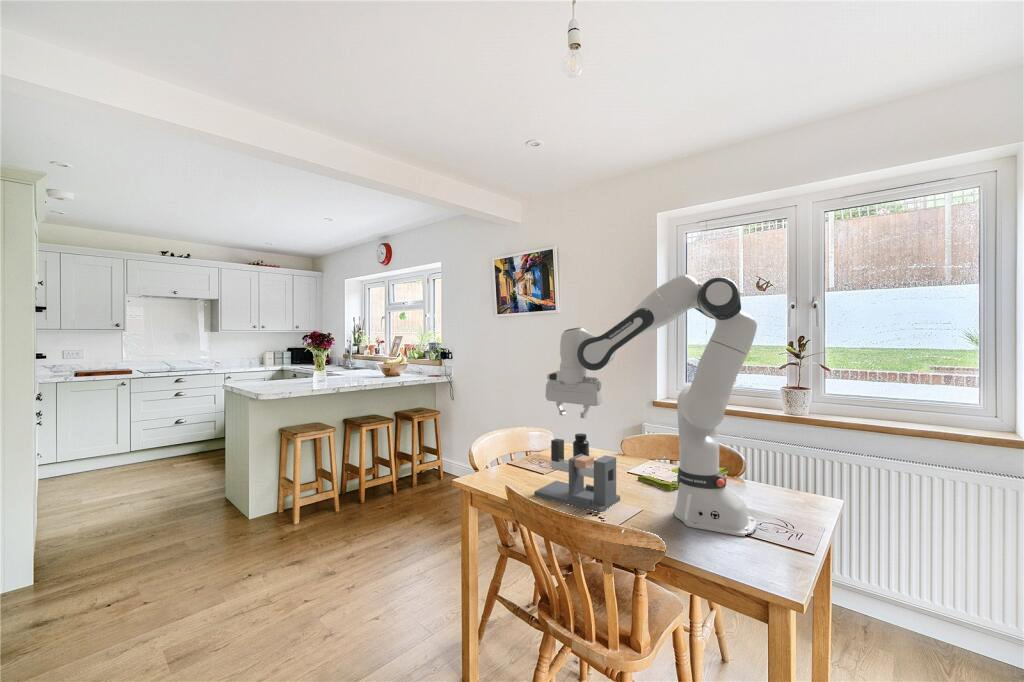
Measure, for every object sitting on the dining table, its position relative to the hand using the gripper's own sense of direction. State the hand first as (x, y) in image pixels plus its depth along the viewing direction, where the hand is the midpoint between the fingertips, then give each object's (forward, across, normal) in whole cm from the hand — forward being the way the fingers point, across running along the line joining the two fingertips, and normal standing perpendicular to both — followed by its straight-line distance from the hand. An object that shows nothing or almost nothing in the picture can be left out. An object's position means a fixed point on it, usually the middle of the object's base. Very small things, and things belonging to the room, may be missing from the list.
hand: (572, 416), depth 152 cm
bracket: (+27, -2, 0) cm, 27 cm away
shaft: (+19, -2, 0) cm, 19 cm away
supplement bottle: (+28, +18, -37) cm, 49 cm away
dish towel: (+28, -23, -44) cm, 57 cm away
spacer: (+16, -4, 0) cm, 17 cm away
